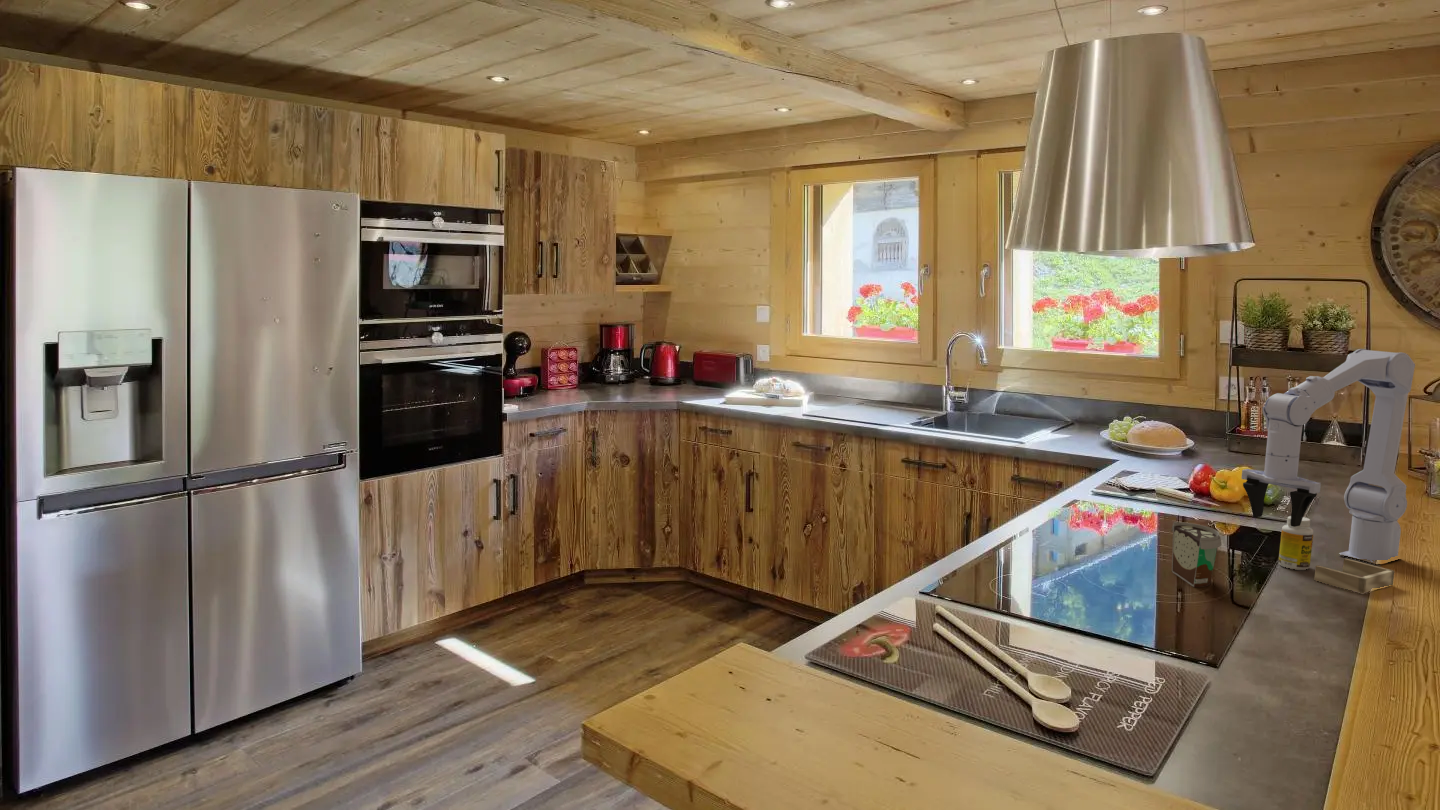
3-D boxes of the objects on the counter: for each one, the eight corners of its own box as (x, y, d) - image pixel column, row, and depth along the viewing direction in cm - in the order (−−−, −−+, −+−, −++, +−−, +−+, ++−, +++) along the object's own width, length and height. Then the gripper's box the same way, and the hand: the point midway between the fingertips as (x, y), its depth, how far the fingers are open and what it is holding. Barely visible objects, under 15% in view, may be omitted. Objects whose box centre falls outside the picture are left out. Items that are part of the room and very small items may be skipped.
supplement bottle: (1301, 572, 190) (1306, 523, 188) (1272, 565, 194) (1277, 517, 193) (1315, 568, 193) (1320, 519, 191) (1286, 561, 197) (1291, 513, 196)
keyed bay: (1344, 572, 190) (1346, 558, 189) (1392, 585, 182) (1394, 570, 182) (1314, 580, 185) (1315, 565, 184) (1362, 594, 177) (1364, 579, 177)
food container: (1230, 590, 179) (1235, 539, 177) (1197, 589, 179) (1202, 538, 177) (1199, 569, 191) (1203, 521, 189) (1168, 569, 191) (1172, 521, 190)
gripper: (1235, 449, 192) (1229, 515, 194) (1308, 463, 179) (1301, 532, 181) (1255, 446, 195) (1249, 511, 197) (1329, 459, 183) (1322, 527, 185)
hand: (1276, 521), depth 189 cm, fingers open, 7 cm apart
